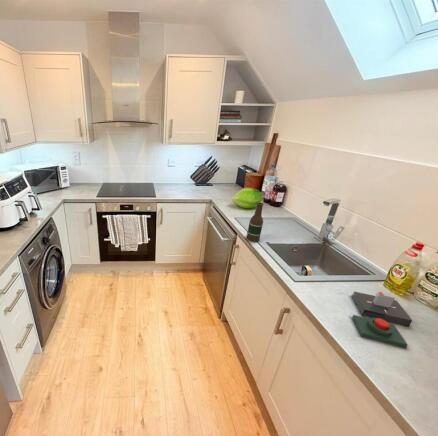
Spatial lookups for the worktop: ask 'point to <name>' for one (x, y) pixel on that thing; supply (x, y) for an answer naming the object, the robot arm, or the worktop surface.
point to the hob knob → (383, 299)
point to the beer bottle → (255, 224)
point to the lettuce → (247, 198)
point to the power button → (381, 323)
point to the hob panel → (381, 309)
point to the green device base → (378, 331)
